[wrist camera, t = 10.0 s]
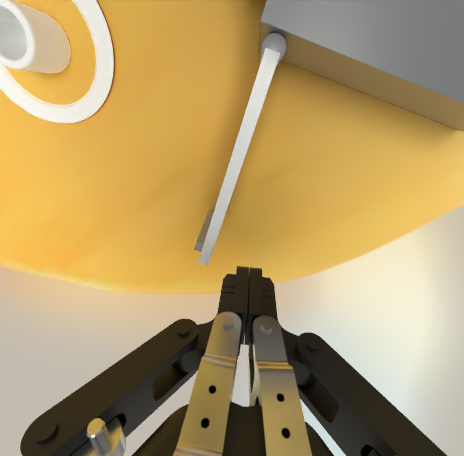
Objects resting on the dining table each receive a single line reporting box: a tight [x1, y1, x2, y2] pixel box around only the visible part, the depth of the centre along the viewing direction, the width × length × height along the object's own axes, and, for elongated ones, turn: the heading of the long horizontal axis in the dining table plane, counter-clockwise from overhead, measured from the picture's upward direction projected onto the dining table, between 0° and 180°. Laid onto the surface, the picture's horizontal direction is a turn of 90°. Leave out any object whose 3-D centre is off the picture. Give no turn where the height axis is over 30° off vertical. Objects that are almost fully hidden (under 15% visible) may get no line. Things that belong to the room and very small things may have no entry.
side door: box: [194, 33, 286, 265], centre depth 19 cm, size 15×2×8 cm, turn 162°
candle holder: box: [0, 0, 114, 123], centre depth 19 cm, size 12×12×4 cm
